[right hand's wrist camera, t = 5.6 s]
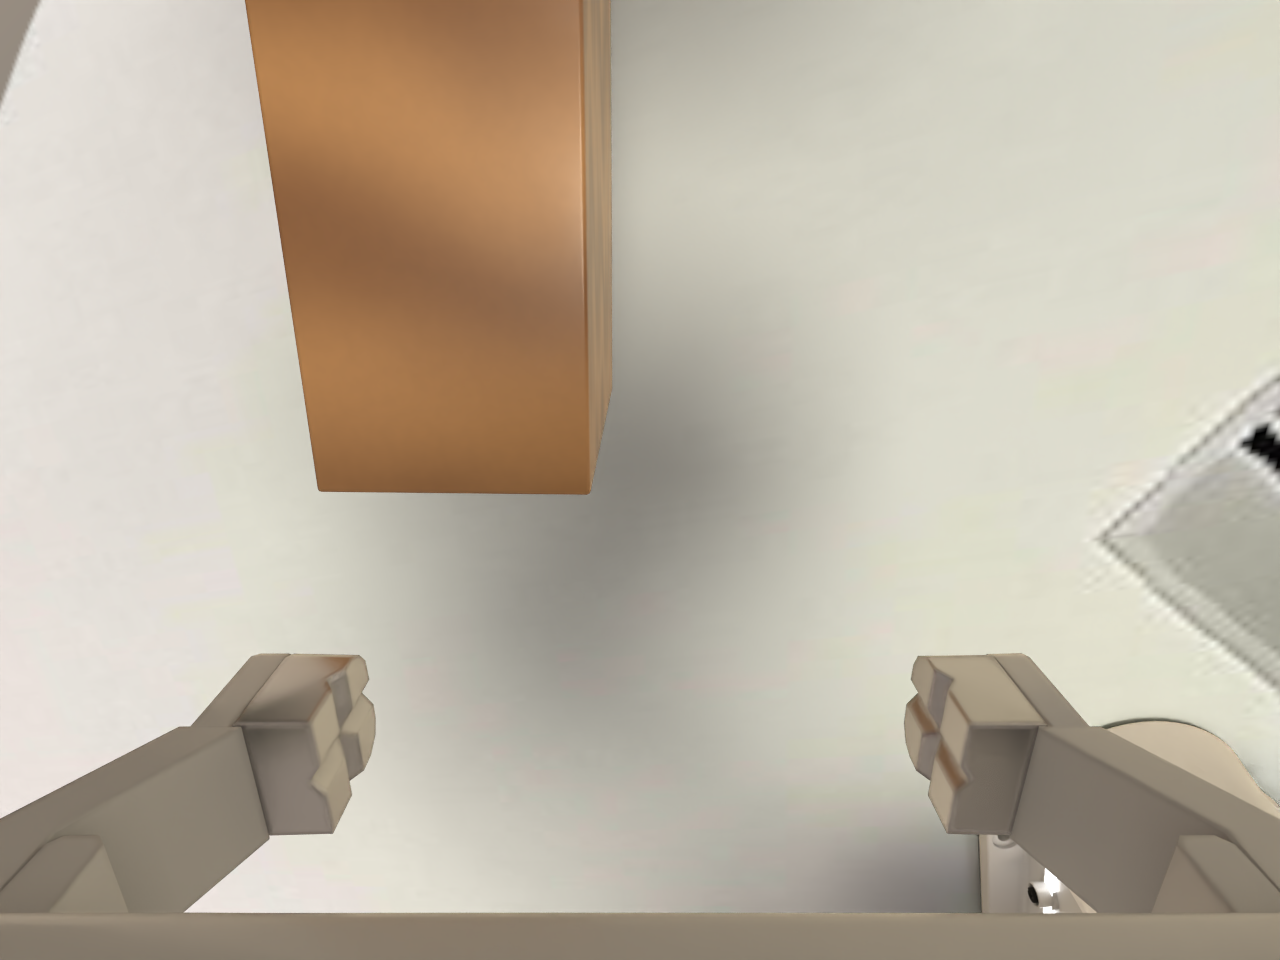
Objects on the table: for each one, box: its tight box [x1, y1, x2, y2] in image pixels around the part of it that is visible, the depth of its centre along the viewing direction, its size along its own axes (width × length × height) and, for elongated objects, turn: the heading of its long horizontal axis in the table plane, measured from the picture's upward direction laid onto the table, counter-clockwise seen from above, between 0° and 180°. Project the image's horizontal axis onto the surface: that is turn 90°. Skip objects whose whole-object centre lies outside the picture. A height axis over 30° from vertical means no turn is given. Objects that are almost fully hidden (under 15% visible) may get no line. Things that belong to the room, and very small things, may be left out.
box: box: [245, 0, 612, 495], centre depth 18 cm, size 21×6×12 cm, turn 179°
